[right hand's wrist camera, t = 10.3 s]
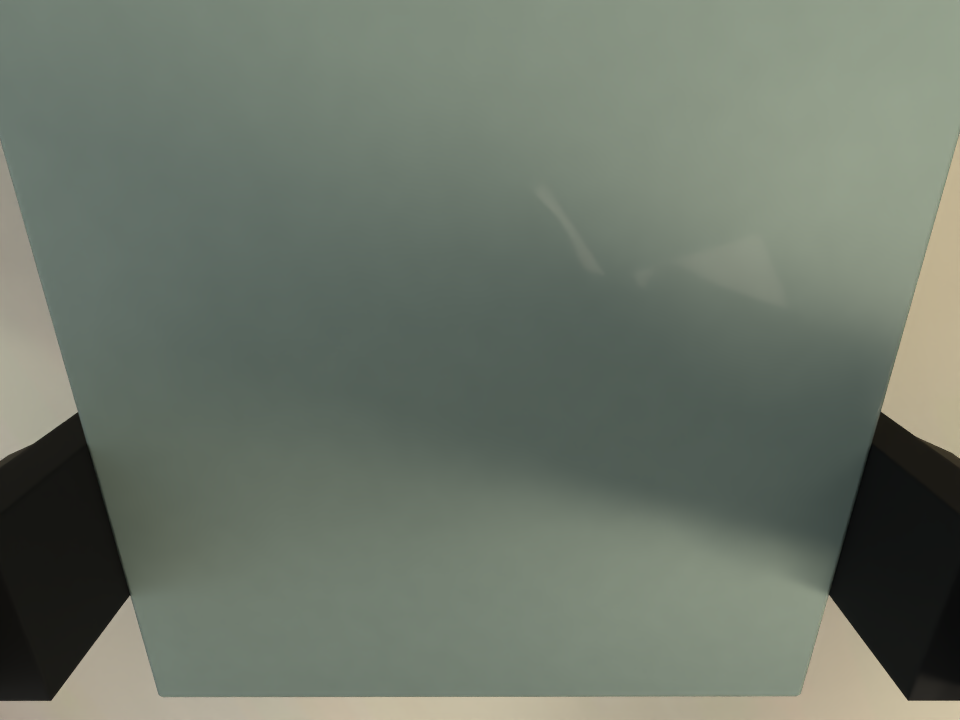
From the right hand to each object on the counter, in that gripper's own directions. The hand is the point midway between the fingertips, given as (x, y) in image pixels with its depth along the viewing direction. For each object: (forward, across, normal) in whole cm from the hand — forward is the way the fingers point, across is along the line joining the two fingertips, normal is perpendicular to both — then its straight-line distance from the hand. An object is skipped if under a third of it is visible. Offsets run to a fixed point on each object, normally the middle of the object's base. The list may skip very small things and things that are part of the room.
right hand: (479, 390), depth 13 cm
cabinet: (+5, 0, -6) cm, 8 cm away
